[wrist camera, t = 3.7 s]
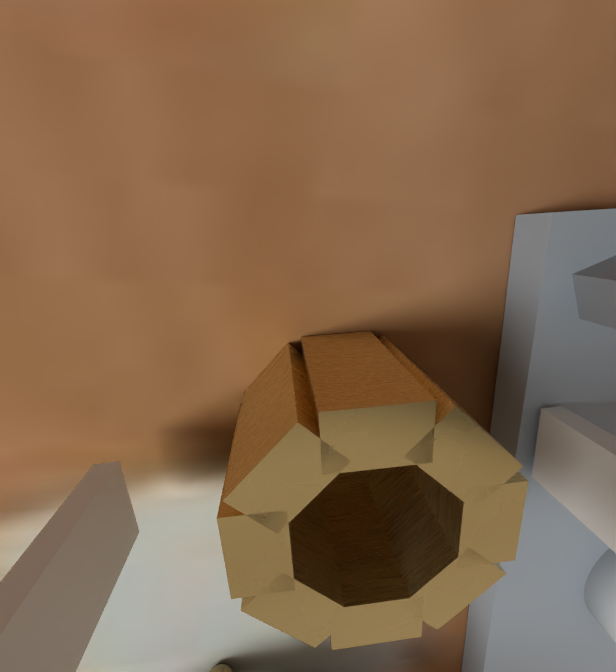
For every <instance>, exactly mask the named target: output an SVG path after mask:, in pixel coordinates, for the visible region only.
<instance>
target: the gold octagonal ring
mask: <svg viewBox="0 0 616 672" xmlns="http://www.w3.org/2000/svg"><path fill="white" fill-rule="evenodd" d="M301 348H302V353H301V352H299V351H298V350H297V349H296V348H294V347H293V346H292V345H291V344H289V343H288V344H287V345H286V346H285V347H284V349H283V350H282V351H281V352H280V353H279V354H278V355H277V356H276V357H275V359H274V360H273V361H272V362H271V363H270V364H269V365H268V366H267V368H266V369H265V370H264V371H263V372H262V373H261V374H260V375H259V376H258V378H257V379H256V380H255V381H254V382H253V383H252V384H251V385H250V387H249V388H248V389H247V390H246V391H245V392H244V395H243V400H242V404H240V408H239V413H238V418H237V423H236V428H235V433H234V438H233V442H232V447H231V452H230V457H229V462H228V467H227V472H226V477H225V481H224V486H223V491H222V496H221V501H220V506H219V511H218V515H217V522H218V527H219V533H220V539H221V544H222V550H223V555H224V561H225V567H226V572H227V578H228V583H229V589H230V595H231V599H235V598H242V605H241V611H242V612H244V613H246V614H248V615H250V616H252V617H254V618H256V619H258V620H260V621H262V622H264V623H266V624H268V625H270V626H272V627H274V628H276V629H278V630H280V631H282V632H284V633H286V634H288V635H290V636H292V637H294V638H296V639H298V640H300V641H302V642H304V643H306V644H308V645H310V646H312V647H314V648H316V647H317V646H318V645H319V644H321V643H322V642H323V641H324V640H325V639H326V638H327V637H329V636H330V640H331V647H332V650H337V649H343V648H350V647H357V646H363V645H370V644H377V643H383V642H390V641H397V640H404V639H410V638H417V637H422V622H423V621H424V622H425V623H427V624H429V625H430V626H432V627H434V628H435V629H437V630H438V629H439V628H440V627H442V626H443V625H444V624H445V623H447V622H448V621H449V620H450V619H452V618H453V617H454V616H455V615H456V614H458V613H459V612H460V611H461V610H463V609H464V608H465V607H466V606H468V605H469V604H470V603H471V602H472V601H474V600H475V599H476V598H477V597H479V596H480V595H481V594H482V593H484V592H485V591H486V590H487V589H488V588H490V587H491V586H492V585H493V584H495V583H496V582H497V581H498V580H500V579H501V578H502V577H503V576H504V575H506V573H505V571H504V570H503V568H502V567H501V565H500V564H499V562H507V561H514V560H515V558H516V552H517V546H518V541H519V535H520V529H521V523H522V517H523V511H524V505H525V499H526V493H527V487H528V480H527V479H526V478H525V477H524V476H523V475H522V474H521V473H520V472H519V470H520V469H521V468H522V467H523V465H522V464H521V463H520V462H519V461H518V460H517V459H515V458H514V457H513V456H512V455H511V454H510V453H509V452H508V451H507V450H506V449H505V448H504V447H503V446H502V445H501V444H500V443H499V442H497V441H496V440H495V439H494V438H493V437H492V436H491V435H490V434H489V433H488V432H487V431H486V430H485V429H484V428H483V427H482V426H481V425H480V424H478V423H477V422H476V421H475V420H474V419H473V418H472V417H471V416H470V415H469V414H468V413H467V412H466V411H465V410H464V409H463V408H462V407H461V406H459V405H458V404H457V403H456V402H455V401H454V400H453V399H452V398H451V397H450V396H449V395H448V394H447V393H446V392H445V391H444V390H443V389H441V388H440V387H439V386H438V385H437V384H436V383H435V382H434V381H433V380H432V379H431V378H430V377H429V376H428V375H427V374H426V373H424V372H423V371H422V370H421V369H420V368H419V367H418V366H417V365H415V364H414V363H413V362H412V361H411V360H410V359H409V358H408V357H407V356H405V355H404V354H403V353H402V352H401V351H400V350H399V349H398V348H396V347H395V346H394V345H393V344H392V343H391V342H390V341H389V340H388V339H386V338H385V337H384V336H383V335H382V336H381V337H380V338H379V339H377V338H376V337H375V335H374V334H373V333H372V332H371V331H365V332H353V333H341V334H329V335H317V336H305V337H301Z"/></svg>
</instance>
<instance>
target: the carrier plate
mask: <svg viewBox="0 0 616 672" xmlns="http://www.w3.org/2000/svg"><path fill="white" fill-rule="evenodd" d="M556 406H563V407H565V408H567V409H569V410H570V411H572V412H574V413H576V414H577V415H579V416H581V417H582V418H584V419H586V420H588V421H589V422H591V423H593V424H595V425H596V426H598V427H600V428H602V429H603V430H605V431H607V432H609V433H610V434H612V435H614V436H615V437H616V208H615V209H599V210H582V211H566V212H550V213H536V214H522V215H516V220H515V228H514V237H513V245H512V253H511V262H510V270H509V278H508V287H507V295H506V303H505V312H504V320H503V328H502V337H501V345H500V353H499V362H498V370H497V378H496V387H495V395H494V403H493V412H492V420H491V428H490V435H491V436H492V437H493V438H494V439H495V440H496V441H497V442H499V443H500V444H501V445H502V446H503V447H504V448H505V449H506V450H507V451H508V452H509V453H510V454H511V455H512V456H513V457H514V458H515V459H517V460H518V461H519V462H520V463H521V464H522V465H523V467H522V468H521V469H520V470H519V472H520V473H521V474H522V475H523V476H524V477H525V478H526V479H527V480H528V487H527V493H526V499H525V505H524V511H523V517H522V523H521V529H520V535H519V541H518V546H517V552H516V558H515V560H514V561H507V562H499V564H500V565H501V567H502V568H503V570H504V571H505V573H506V575H504V576H503V577H502V578H501V579H500V580H498V581H497V582H496V583H495V584H493V585H492V586H491V587H490V588H488V589H487V590H486V591H485V592H484V593H482V594H481V595H480V596H479V597H477V598H476V599H475V600H474V601H472V602H471V603H470V604H469V611H468V620H467V628H466V636H465V645H464V653H463V661H462V670H461V672H616V553H615V552H614V551H613V550H611V549H610V548H609V547H608V546H607V545H606V544H605V543H604V542H603V541H602V540H601V539H599V538H598V537H597V536H596V535H595V534H594V533H593V532H592V531H591V530H590V529H589V528H587V527H586V526H585V525H584V524H583V523H582V522H581V521H580V520H579V519H578V518H576V517H575V516H574V515H573V514H572V513H571V512H570V511H569V510H568V509H567V508H566V507H564V506H563V505H562V504H561V503H560V502H559V501H558V500H557V499H556V498H555V497H554V496H552V495H551V494H550V493H549V492H548V491H547V490H546V489H545V488H544V487H543V486H541V485H540V484H539V483H538V482H537V481H536V480H535V479H534V478H533V477H532V471H533V463H534V456H535V449H536V441H537V434H538V427H539V419H540V412H541V408H549V407H556Z"/></svg>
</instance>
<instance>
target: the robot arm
mask: <svg viewBox="0 0 616 672" xmlns="http://www.w3.org/2000/svg"><path fill="white" fill-rule="evenodd" d="M532 477H533V478H534V479H535V480H536V481H537V482H538V483H539V484H540V485H541V486H543V487H544V488H545V489H546V490H547V491H548V492H549V493H550V494H551V495H552V496H554V497H555V498H556V499H557V500H558V501H559V502H560V503H561V504H562V505H563V506H564V507H566V508H567V509H568V510H569V511H570V512H571V513H572V514H573V515H574V516H575V517H576V518H578V519H579V520H580V521H581V522H582V523H583V524H584V525H585V526H586V527H587V528H589V529H590V530H591V531H592V532H593V533H594V534H595V535H596V536H597V537H598V538H599V539H601V540H602V541H603V542H604V543H605V544H606V545H607V546H608V547H609V548H610V549H611V550H613V551H614V552H615V553H616V437H615V436H614V435H612V434H610V433H609V432H607V431H605V430H603V429H602V428H600V427H598V426H596V425H595V424H593V423H591V422H589V421H588V420H586V419H584V418H582V417H581V416H579V415H577V414H576V413H574V412H572V411H570V410H569V409H567V408H565V407H563V406H556V407H549V408H541V412H540V419H539V427H538V434H537V441H536V449H535V456H534V463H533V471H532ZM138 533H139V529H138V525H137V522H136V518H135V515H134V511H133V508H132V504H131V501H130V497H129V494H128V490H127V486H126V483H125V479H124V476H123V472H122V469H121V465H120V462H119V461H117V462H109V463H101V464H94V465H93V466H92V467H91V468H90V470H89V471H88V472H87V473H86V475H85V476H84V477H83V479H82V480H81V481H80V482H79V484H78V485H77V486H76V487H75V489H74V490H73V491H72V492H71V494H70V495H69V496H68V497H67V499H66V500H65V501H64V503H63V504H62V505H61V506H60V508H59V509H58V510H57V511H56V513H55V514H54V515H53V516H52V518H51V519H50V520H49V522H48V523H47V524H46V525H45V527H44V528H43V529H42V530H41V532H40V533H39V534H38V535H37V537H36V538H35V539H34V540H33V542H32V543H31V544H30V546H29V547H28V548H27V549H26V551H25V552H24V553H23V554H22V556H21V557H20V558H19V559H18V561H17V562H16V563H15V565H14V566H13V567H12V568H11V570H10V571H9V572H8V573H7V575H6V576H5V577H4V578H3V580H2V581H1V582H0V672H76V669H77V667H78V665H79V663H80V661H81V658H82V656H83V654H84V652H85V650H86V647H87V645H88V643H89V641H90V639H91V636H92V634H93V632H94V630H95V628H96V626H97V623H98V621H99V619H100V617H101V615H102V612H103V610H104V608H105V606H106V604H107V601H108V599H109V597H110V595H111V593H112V590H113V588H114V586H115V584H116V582H117V579H118V577H119V575H120V573H121V571H122V568H123V566H124V564H125V562H126V560H127V557H128V555H129V553H130V551H131V549H132V546H133V544H134V542H135V540H136V538H137V535H138Z"/></svg>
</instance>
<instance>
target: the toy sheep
mask: <svg viewBox="0 0 616 672" xmlns="http://www.w3.org/2000/svg"><path fill="white" fill-rule="evenodd" d="M209 672H232V670H231V668H230V667H229V666H228V665H226V664H219V665H216V666H214V667H213V668H212V669H211V670H210V671H209Z"/></svg>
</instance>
